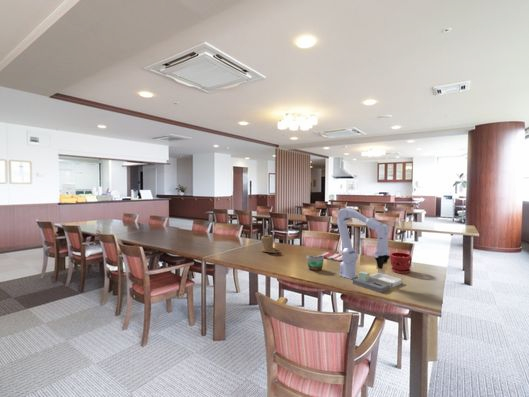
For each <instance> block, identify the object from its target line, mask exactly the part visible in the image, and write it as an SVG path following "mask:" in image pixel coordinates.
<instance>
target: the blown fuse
mask: <svg viewBox="0 0 529 397" xmlns="http://www.w3.org/2000/svg"><path fill="white" fill-rule="evenodd" d="M375 267H376V268H375V269H376V270H377V273H381V274H385V275H386V272H387V271H388V261H387V262H383V267H382V269H380V268H378V265H377V264H376V266H375Z"/></svg>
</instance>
